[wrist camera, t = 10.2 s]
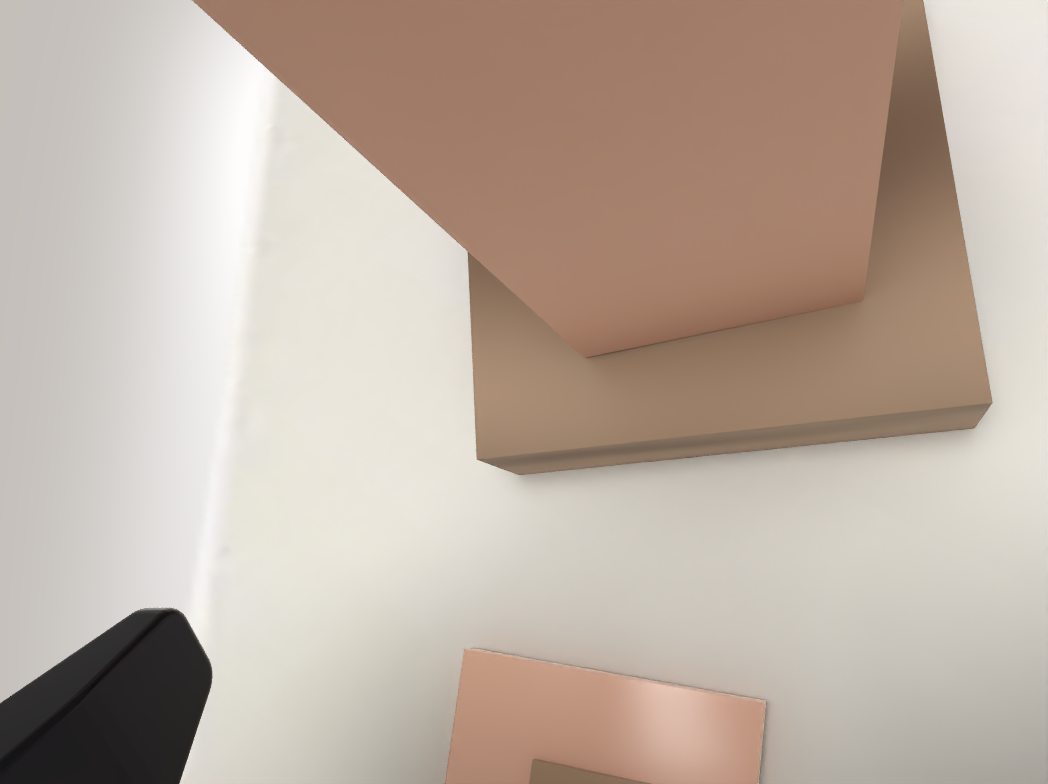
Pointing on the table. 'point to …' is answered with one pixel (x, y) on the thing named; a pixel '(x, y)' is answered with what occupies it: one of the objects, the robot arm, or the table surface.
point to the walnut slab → (763, 339)
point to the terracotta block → (614, 143)
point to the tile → (596, 727)
